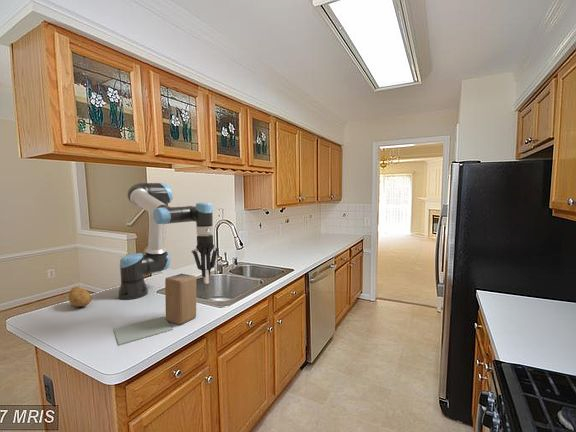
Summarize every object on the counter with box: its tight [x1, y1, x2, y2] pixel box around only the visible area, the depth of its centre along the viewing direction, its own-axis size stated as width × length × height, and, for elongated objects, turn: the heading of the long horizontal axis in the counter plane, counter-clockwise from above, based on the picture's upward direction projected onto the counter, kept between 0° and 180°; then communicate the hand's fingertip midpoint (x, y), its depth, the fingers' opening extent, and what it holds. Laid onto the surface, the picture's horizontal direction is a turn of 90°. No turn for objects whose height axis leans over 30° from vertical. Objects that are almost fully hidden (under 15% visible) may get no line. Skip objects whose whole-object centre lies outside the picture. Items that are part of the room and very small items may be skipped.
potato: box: [68, 286, 92, 308], centre depth 148 cm, size 9×16×9 cm, turn 48°
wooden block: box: [164, 273, 197, 325], centre depth 131 cm, size 10×10×20 cm
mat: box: [113, 316, 174, 346], centre depth 122 cm, size 16×20×1 cm
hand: (206, 282), depth 138 cm, fingers closed
